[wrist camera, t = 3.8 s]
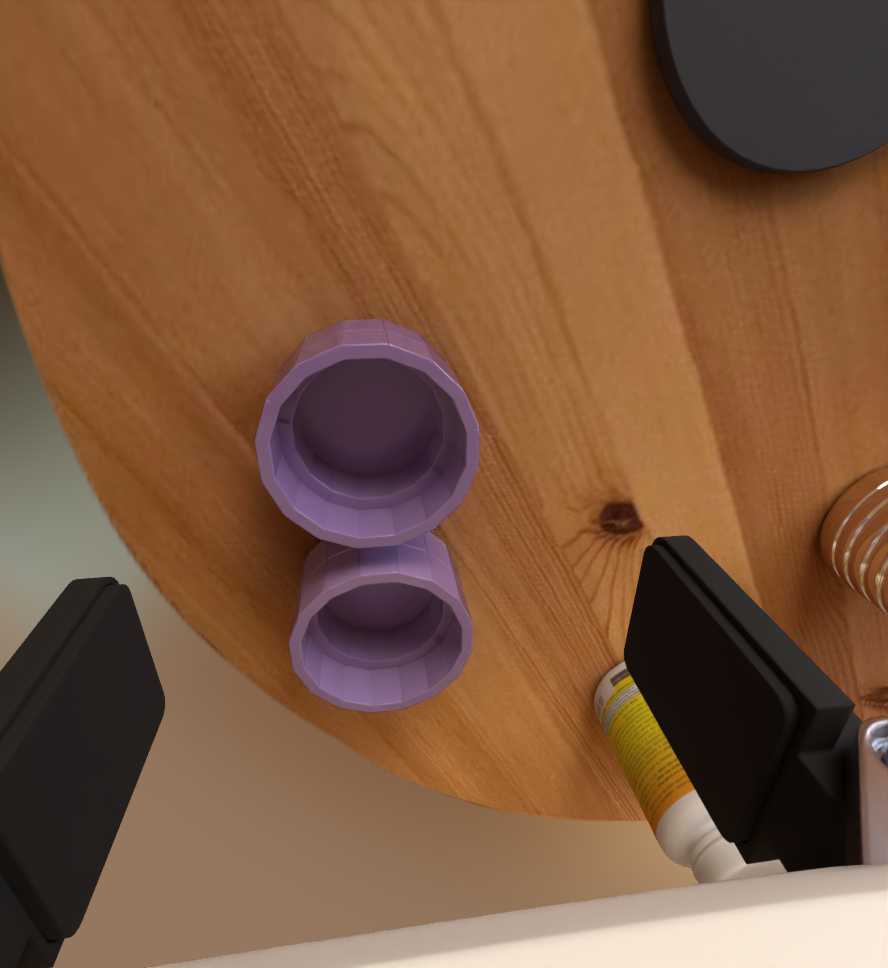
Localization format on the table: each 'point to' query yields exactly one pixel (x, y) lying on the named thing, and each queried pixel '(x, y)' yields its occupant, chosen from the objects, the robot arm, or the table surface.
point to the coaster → (778, 77)
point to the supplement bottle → (666, 786)
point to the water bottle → (860, 538)
